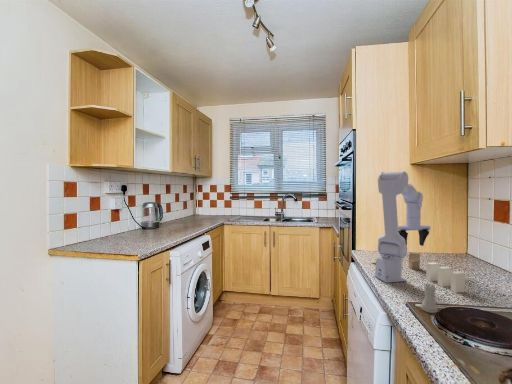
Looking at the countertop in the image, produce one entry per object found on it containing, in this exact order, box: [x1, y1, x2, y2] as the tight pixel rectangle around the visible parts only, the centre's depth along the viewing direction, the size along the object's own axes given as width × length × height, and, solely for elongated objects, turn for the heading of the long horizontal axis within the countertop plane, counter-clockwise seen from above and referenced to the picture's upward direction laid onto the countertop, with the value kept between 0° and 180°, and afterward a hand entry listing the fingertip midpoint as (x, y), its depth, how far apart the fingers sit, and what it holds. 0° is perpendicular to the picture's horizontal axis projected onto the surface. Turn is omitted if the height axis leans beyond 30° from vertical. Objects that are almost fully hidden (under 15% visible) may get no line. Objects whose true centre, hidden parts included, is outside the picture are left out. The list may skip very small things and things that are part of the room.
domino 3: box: [437, 265, 452, 288], centre depth 104 cm, size 2×4×7 cm, turn 102°
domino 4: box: [450, 270, 466, 294], centre depth 99 cm, size 2×4×7 cm, turn 102°
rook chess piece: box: [420, 283, 439, 314], centre depth 84 cm, size 4×4×8 cm
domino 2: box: [425, 261, 440, 282], centre depth 110 cm, size 2×4×7 cm, turn 102°
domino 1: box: [408, 252, 421, 270], centre depth 124 cm, size 2×4×7 cm, turn 102°
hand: (413, 245), depth 127 cm, fingers open, 7 cm apart
